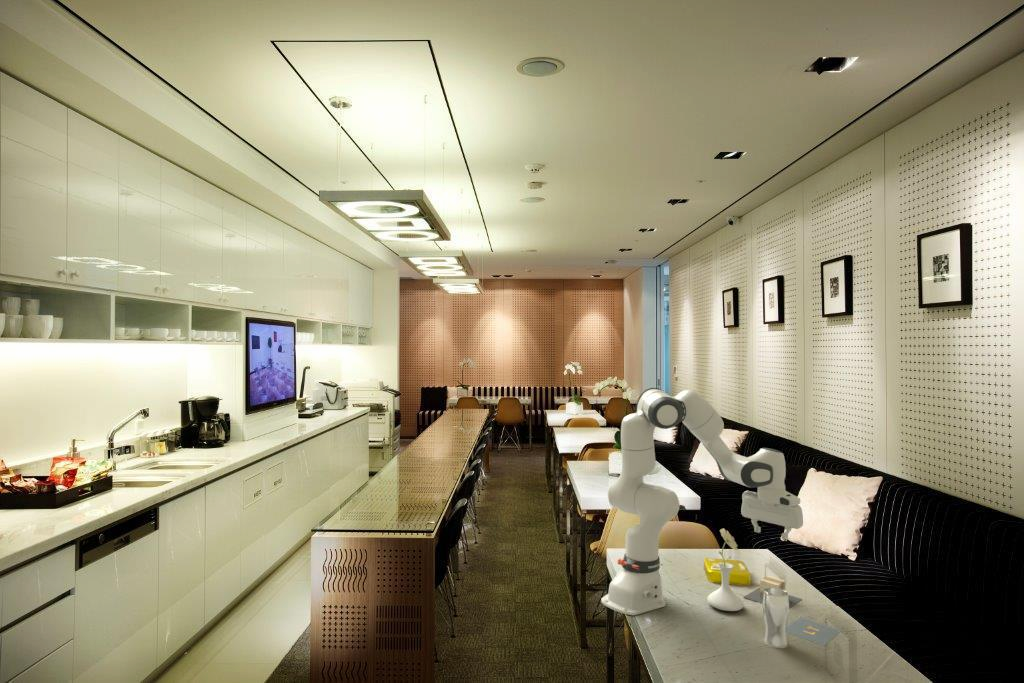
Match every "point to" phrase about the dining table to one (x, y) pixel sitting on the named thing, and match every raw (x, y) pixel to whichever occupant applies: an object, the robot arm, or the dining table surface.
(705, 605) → the dining table surface
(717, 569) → the element tile
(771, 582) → the light wood cube
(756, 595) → the pad
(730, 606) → the flower in vase
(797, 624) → the grey flat slab
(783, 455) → the robot arm
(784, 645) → the beer glass
